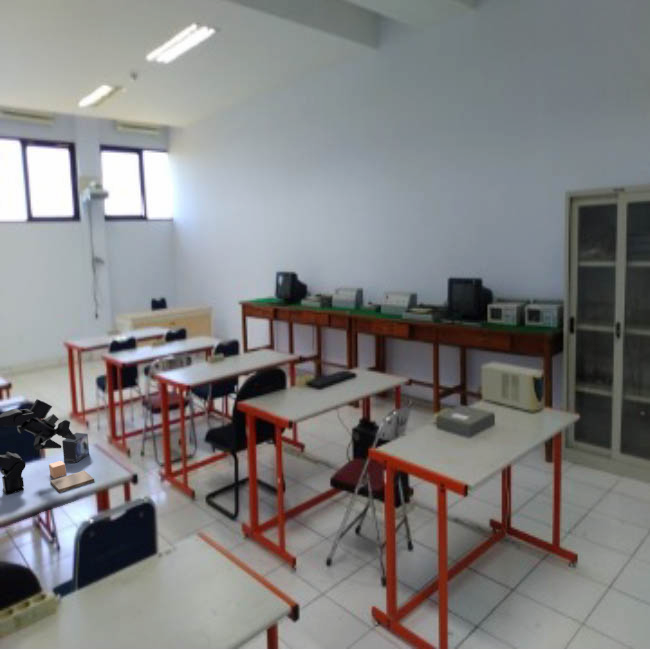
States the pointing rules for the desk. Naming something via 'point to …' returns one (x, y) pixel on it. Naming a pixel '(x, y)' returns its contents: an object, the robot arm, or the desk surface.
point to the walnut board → (72, 481)
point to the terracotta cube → (57, 469)
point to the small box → (75, 448)
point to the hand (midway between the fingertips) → (68, 442)
